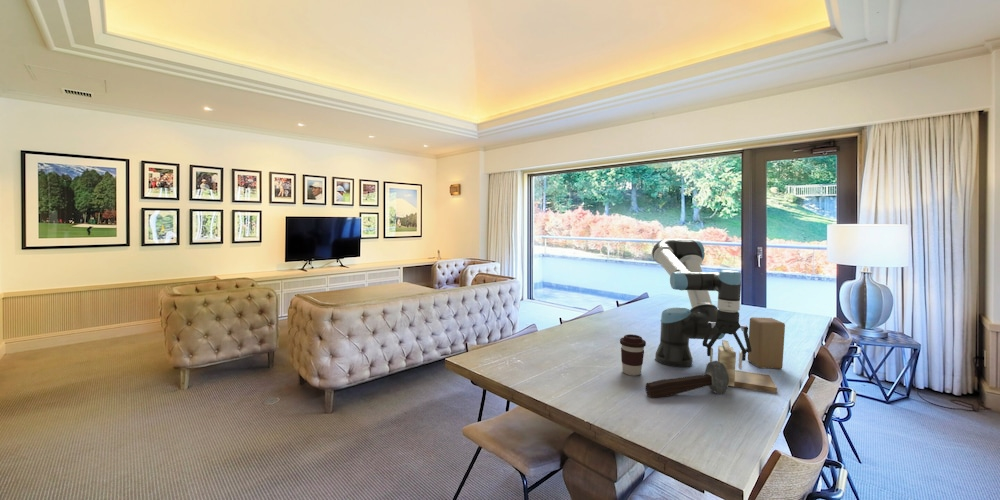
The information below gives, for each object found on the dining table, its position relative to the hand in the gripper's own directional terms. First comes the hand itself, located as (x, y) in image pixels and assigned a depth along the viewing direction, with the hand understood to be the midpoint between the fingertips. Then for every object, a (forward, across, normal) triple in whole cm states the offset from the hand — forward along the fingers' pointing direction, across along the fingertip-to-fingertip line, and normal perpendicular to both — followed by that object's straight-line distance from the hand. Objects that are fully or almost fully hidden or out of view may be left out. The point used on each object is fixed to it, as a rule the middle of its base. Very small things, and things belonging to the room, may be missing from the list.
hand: (725, 366), depth 159 cm
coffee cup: (+5, -34, -10) cm, 36 cm away
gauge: (+5, 0, -1) cm, 5 cm away
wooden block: (+5, +17, +26) cm, 32 cm away
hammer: (+6, -14, -23) cm, 27 cm away
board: (+5, +6, 0) cm, 8 cm away
